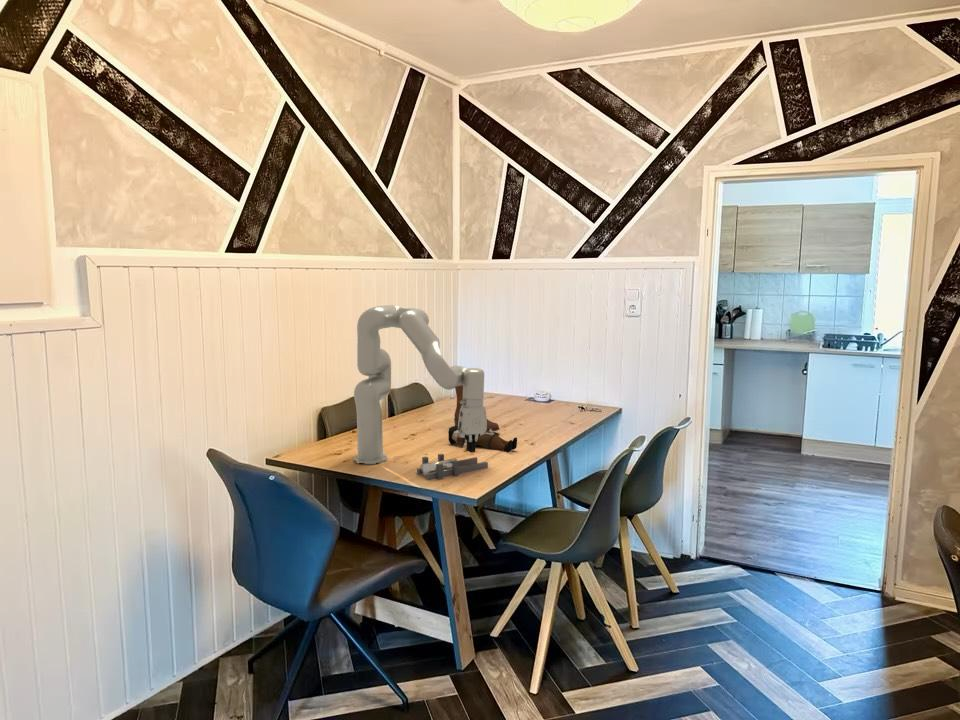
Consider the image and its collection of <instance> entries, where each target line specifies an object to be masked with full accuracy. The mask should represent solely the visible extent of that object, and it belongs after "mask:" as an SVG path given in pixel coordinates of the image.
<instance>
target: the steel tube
mask: <svg viewBox="0 0 960 720" xmlns="http://www.w3.org/2000/svg"><path fill="white" fill-rule="evenodd" d="M454 460H457V458H450V459H444V460H443V461H438V460H437V461H433V462H432V461H431V462H428V463H426V464H422V463H421V464H420V467H419V468H420V471H421V474H422V476H423V477H425V476H426V474H427V473H432V472H436V464H439V463H441V464H443V470H447V469H452V461H454ZM457 461H458V460H457ZM423 477H422V478H423Z"/></svg>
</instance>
